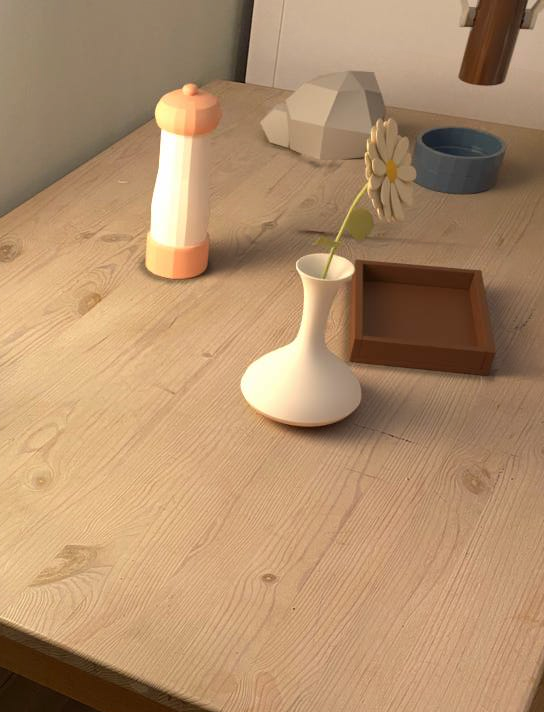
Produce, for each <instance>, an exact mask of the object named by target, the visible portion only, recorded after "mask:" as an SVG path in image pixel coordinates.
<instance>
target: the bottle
mask: <svg viewBox="0 0 544 712" xmlns="http://www.w3.org/2000/svg"><path fill="white" fill-rule="evenodd" d="M528 3H529V0H476V4H475V7H476V15H475V18H474V19H473V20H474V23H473V26H472V27H469V28H470V29H469V32H468V37H467V41H466V44H465V47H464V48H465V49H464V52H463V56H462V60H461V63H460V68H459V72H458V79H459V81H461V82H463V83H466V84H469V85H473V86H483V87H491V86H492V87H493V86H497V85H502V84H503V83H505V82H506V79H507V76H508V73H509V69H510V65H511V63H512V62H511V61H512V59H513V55H514V51H515V48H516V44H517V41H518V37H519V35H520V30H521V29H520V27H521V24H522V21H523V17H524V14H525V10H526V9H527V7H528Z"/></svg>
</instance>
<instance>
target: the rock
mask: <svg viewBox="0 0 544 712" xmlns="http://www.w3.org/2000/svg"><path fill="white" fill-rule="evenodd" d="M386 112H387V108H386V104H385V101H384V99H383V94H382V91H381V88H380V85H379V83H378V80H377V77H376V74H375V72H374V71H365V70H363V71H362V70H345V71H338V72H333V73H326V74H321V75H318V76H316V77H314V78H312V79H309V80H307V81H306V82H305V83H303V85H301V86H300V87H299V88H298V89H296V90H295V91H294V92H293V93H292V94H291V95H290V96H288V97H287V98H286V99H285V102H281V103H277V104H275V106H273V107H272V108H271V109H270V110H269V111H268V112H267V113H266V114H265V115H264V116H263V118H262V119H261V120H260V125H261V127H262V129H263V132H264V134H265V135H266V138H267V140H268V142H269V143H271V144H274V145H278V146H281V147H285V148H287V149H288V148H289V149H290V150H292V151H295V152H296V153H298V154H301V155H302V154H303V155H305V156H308V157H311V158H313V159H316V160H318V161H337V160H338V161H341V160H342V161H343V160H350V159H360V158H365V153H366V152H368V150H367V140H368V138H370V139H371V130H372V127H373V126H376V124H377V121H378V119H380V118H381V119H382V120H383V122H385V120H384V119H385V117H386Z"/></svg>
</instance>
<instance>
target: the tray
mask: <svg viewBox="0 0 544 712" xmlns="http://www.w3.org/2000/svg"><path fill="white" fill-rule="evenodd" d="M353 265H354V267H355V272H354V274H353V275H352V276H351V279H350V305H349V306H350V308H349V311H350V312H349V349H348V351H349V355H348V357H349V358H348V361H349V362H351V363H363V364H369V365H380V366H390V367H399V368H400V367H401V368H409V369H410V368H411V369H419V370H429V371H438V372H449V373H458V374H459V373H460V374H469V375H477V376H489V373H490V370H491V367H492V364H493V362H494V358H495V356H496V354H497V351H496V345H495V340H494V335H493V329H492V328H493V327H492V323H491V317H490V313H489V307H488V300H487V295H486V289H485V283H484V277H483V271H482V270H481V269H470V268H468V269H467V268H458V267H448V266H447V267H446V266H435V265H423V264H413V263H412V264H410V263H402V262H401V263H400V262H389V261H378V260H377V261H376V260H368V259H367V260H366V259H355V262H354V264H353Z"/></svg>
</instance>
